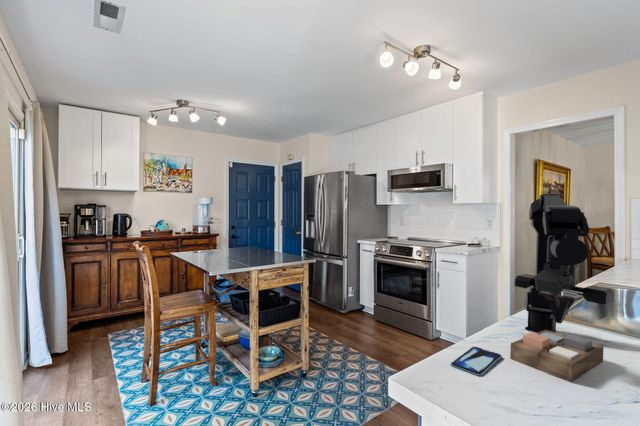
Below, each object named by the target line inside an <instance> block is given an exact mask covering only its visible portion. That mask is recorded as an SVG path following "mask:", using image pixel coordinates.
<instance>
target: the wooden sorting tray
mask: <svg viewBox="0 0 640 426" xmlns="http://www.w3.org/2000/svg"><path fill="white" fill-rule="evenodd" d="M545 332H547V333H550V334H553V335H557V336H560V337H563V338H564V337H566V336H567V335H566V334H561V333H559V332H558V333H557V332H552V331H548V330H544V331H541V332H538V333H537V332H535V334H542V333H545ZM557 346H559V347H562V348H565V349H568V350H571V351H574V352H577V353H579V357H578V358H576V359H574V360H571V359H568V358H565V357H562V356H559V355H556V354H553V353H550V352H549V350H550V349H552V348H555V347H557ZM604 349H605V348H604V346H603V345H599V344H596V343H593V342H592V350H590V351H589V352H584V351H580V350H577V349H574V348H571V347H568V346H564V341H562V342H560V343H555V342H552V341H550V347H549V348H547V349H545V350H541V349H539V348H536V347H533V346H530V345H527V344H524V343H523V338H521V339H518V340H515V341H513V342H510V355H509V356H510V357H509V359H510V360H511V361H512V360H513V361H515V362H518V363H520V364H523V365H524V366H525V365H526V366H527V367H530V368H533V369H536V370H538V371H541V372H544V373H545V374H549V375H550V376H554V377H556V378H558V379H560V380H563V381H566V382H569V383H572V382H574V381H576V380H577V379H579V378H580V377H582V376H584V375H585V374H587V373H588V372H590V371H592V370H593V369H595V368H597V367H598V366H600V365H601V364H603V363H604Z"/></svg>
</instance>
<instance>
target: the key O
mask: <svg viewBox="0 0 640 426" xmlns="http://www.w3.org/2000/svg"><path fill="white" fill-rule="evenodd" d="M565 336H566V337H564V346H568V347H571V348H574V349H577V350H580V351H584V352H589V351H590V350H592V343H593V339H589V338H585V337H582V336H579V335H576V334H569V335H565Z"/></svg>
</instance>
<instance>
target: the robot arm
mask: <svg viewBox="0 0 640 426" xmlns="http://www.w3.org/2000/svg"><path fill="white" fill-rule="evenodd" d="M528 212H529V213H528V220H529V221H530V225H531V227H532V228H533V230H534V231H535V233H536V239H535V240H536V246H535V273H534V274H535V275H533V274H530V273H529V274H528V273H524V274H517V275H516V276H515V278H514V280H513V281H514V283H513V285H514V287H517V288H522V289H528V291H526V294H525V301H524V308H525V311H526V312H527V326H525V327H524V329H525V330H528V331H532V332H533V333H538V332H541V331H544V330H548V331H552V332H555V333H557V324H562V323H563V321H564V320H565V318H566V316H567V314H568V313H569V311H570V309H571V308H572V306H573V305H574V304H575V302H576V301H577V302H578V301H580V300H582V299H584V300H585V301H587V302H590V303H595V304H599V305H608V304H610V303H613V302H614V301H615V293H614V291H613V290H612V288H611V287H605V286H600V285H599V286H598V285H589V286H586V287H582V286H578V280H577V279H576V276H577V269H578V268H579V264H582V263H584V262H585V261H586V260H587V258H588V256H589V249H588V246H587V245H586V243H584V241H582V240H580V239H579V237H581V238H582V237H585V238H587V237H588V234H589V231H590V228H589V224H588V220H587V216H585V213H584V211H582V210H581V208H580V207H579V206H575V205H568V204H567V203H566V202H565V201H564V199H563V196H562V194H559V193H542V194H539V197H538V198H537V199H536V200H534V201H533V202H531V203H530V207H529V211H528Z"/></svg>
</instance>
